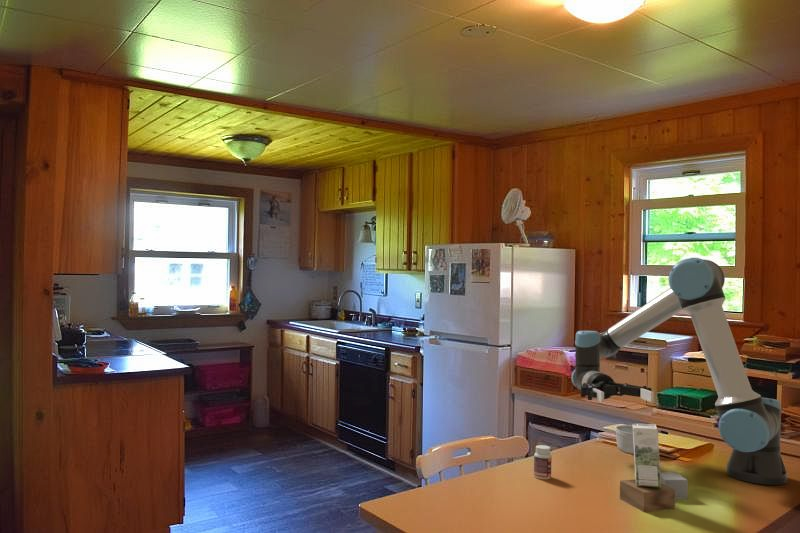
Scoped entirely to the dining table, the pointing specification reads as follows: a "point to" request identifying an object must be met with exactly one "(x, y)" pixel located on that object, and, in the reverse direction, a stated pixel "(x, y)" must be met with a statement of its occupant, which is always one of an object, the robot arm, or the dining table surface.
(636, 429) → the syrup box
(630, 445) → the ramekin
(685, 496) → the grey block
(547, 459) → the pill bottle
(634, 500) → the walnut block
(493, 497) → the dining table surface
